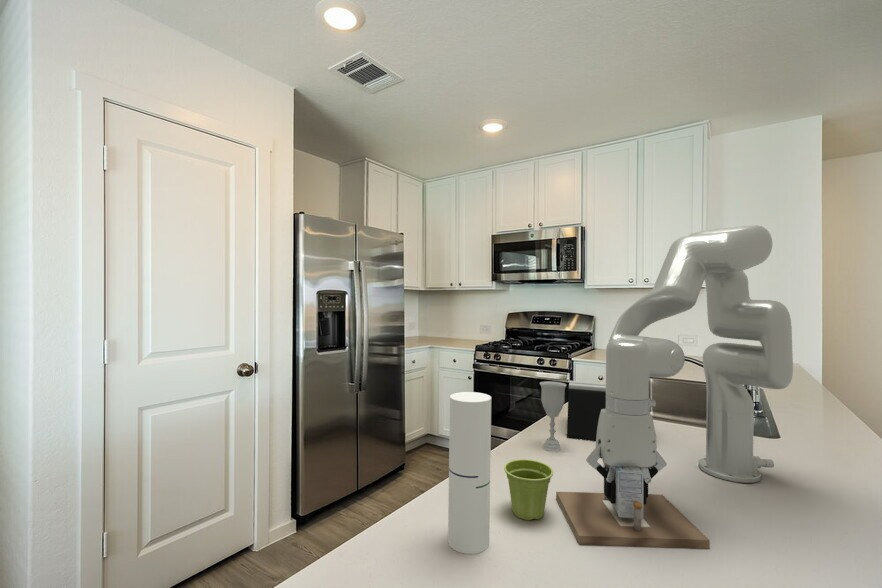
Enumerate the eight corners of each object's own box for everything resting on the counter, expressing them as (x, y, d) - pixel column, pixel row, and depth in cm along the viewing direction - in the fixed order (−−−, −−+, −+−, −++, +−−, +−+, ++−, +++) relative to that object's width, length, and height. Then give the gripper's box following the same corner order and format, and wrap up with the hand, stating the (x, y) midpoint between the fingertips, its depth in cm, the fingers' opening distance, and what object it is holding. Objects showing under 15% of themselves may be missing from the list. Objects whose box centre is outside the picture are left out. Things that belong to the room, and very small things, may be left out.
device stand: (570, 418, 146) (570, 375, 146) (640, 426, 138) (641, 381, 138) (566, 439, 125) (567, 389, 125) (650, 449, 117) (650, 396, 117)
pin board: (662, 501, 87) (662, 472, 87) (709, 548, 71) (709, 512, 71) (556, 498, 87) (556, 469, 87) (579, 544, 71) (579, 509, 71)
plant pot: (543, 531, 75) (544, 483, 75) (495, 516, 80) (496, 471, 80) (558, 509, 83) (559, 466, 83) (514, 496, 88) (515, 455, 88)
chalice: (536, 450, 114) (537, 385, 114) (540, 442, 121) (541, 380, 121) (564, 454, 112) (565, 387, 112) (566, 446, 118) (567, 382, 118)
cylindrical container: (446, 529, 75) (448, 392, 75) (484, 528, 76) (486, 391, 76) (450, 554, 68) (452, 402, 68) (493, 553, 69) (495, 402, 69)
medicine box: (643, 520, 75) (644, 472, 75) (617, 517, 76) (618, 470, 76) (632, 499, 82) (633, 456, 82) (608, 497, 83) (609, 454, 83)
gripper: (662, 400, 83) (661, 492, 83) (575, 399, 83) (574, 490, 83) (683, 411, 75) (681, 512, 75) (587, 410, 76) (586, 509, 76)
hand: (625, 499), depth 79 cm, fingers closed on medicine box, 5 cm apart
